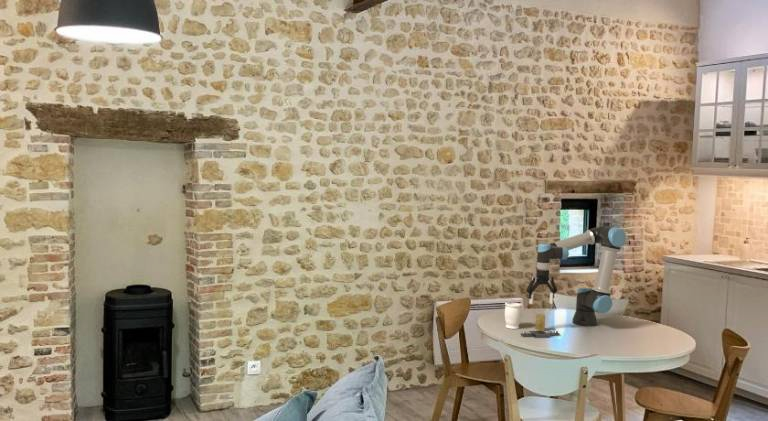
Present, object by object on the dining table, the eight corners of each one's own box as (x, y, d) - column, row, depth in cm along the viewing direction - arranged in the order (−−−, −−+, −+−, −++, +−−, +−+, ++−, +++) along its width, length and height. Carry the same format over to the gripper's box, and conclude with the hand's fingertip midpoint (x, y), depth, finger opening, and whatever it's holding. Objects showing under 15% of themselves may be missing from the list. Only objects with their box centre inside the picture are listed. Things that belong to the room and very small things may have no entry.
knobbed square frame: (554, 333, 404) (554, 329, 404) (562, 337, 395) (562, 333, 395) (518, 334, 397) (518, 330, 397) (525, 338, 389) (525, 334, 388)
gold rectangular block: (541, 329, 412) (542, 313, 411) (544, 331, 408) (545, 315, 408) (535, 329, 411) (536, 313, 410) (538, 331, 407) (539, 315, 406)
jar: (520, 330, 408) (522, 306, 407) (503, 328, 410) (504, 304, 409) (520, 326, 419) (522, 302, 418) (504, 324, 421) (505, 301, 420)
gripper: (558, 268, 414) (556, 301, 415) (521, 268, 407) (519, 302, 409) (564, 270, 407) (562, 304, 408) (527, 270, 400) (525, 305, 401)
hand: (541, 303), depth 408 cm, fingers open, 13 cm apart
